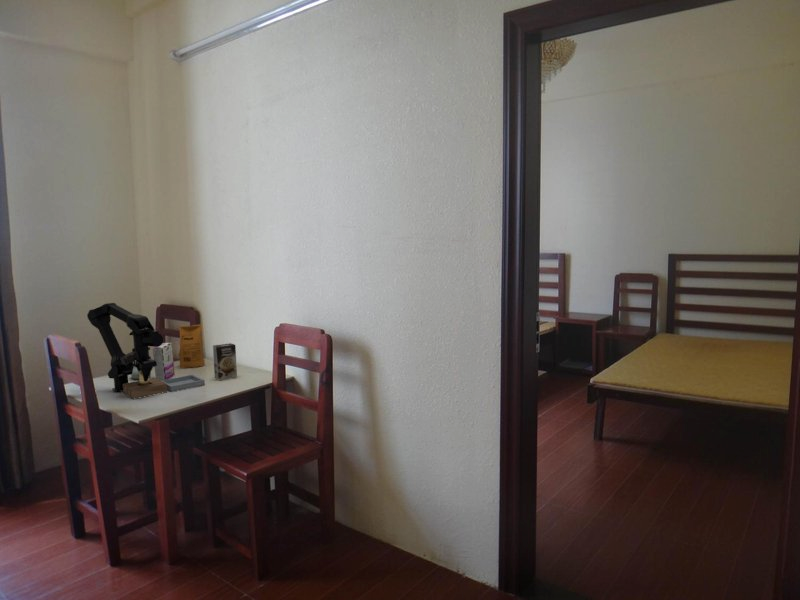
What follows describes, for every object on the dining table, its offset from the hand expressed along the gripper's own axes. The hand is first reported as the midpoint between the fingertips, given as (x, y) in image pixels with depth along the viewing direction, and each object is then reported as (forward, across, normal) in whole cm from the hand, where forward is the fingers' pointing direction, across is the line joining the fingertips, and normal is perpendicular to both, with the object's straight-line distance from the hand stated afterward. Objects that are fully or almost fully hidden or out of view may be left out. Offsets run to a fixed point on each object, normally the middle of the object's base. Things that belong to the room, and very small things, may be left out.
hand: (144, 380), depth 242 cm
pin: (+6, 0, 0) cm, 6 cm away
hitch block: (+6, 0, 0) cm, 6 cm away
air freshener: (+6, -29, +7) cm, 30 cm away
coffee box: (+6, +3, +36) cm, 37 cm away
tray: (+6, +1, +16) cm, 17 cm away
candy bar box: (+6, -19, +15) cm, 25 cm away
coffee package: (+6, -34, +34) cm, 48 cm away
